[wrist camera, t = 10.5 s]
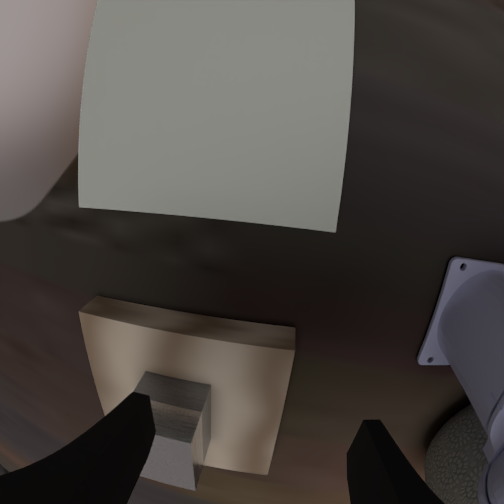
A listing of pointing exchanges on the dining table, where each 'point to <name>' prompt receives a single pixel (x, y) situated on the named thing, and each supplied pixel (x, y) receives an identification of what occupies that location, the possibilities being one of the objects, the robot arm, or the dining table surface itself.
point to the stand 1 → (218, 109)
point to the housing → (177, 429)
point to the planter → (457, 458)
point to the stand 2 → (197, 370)
